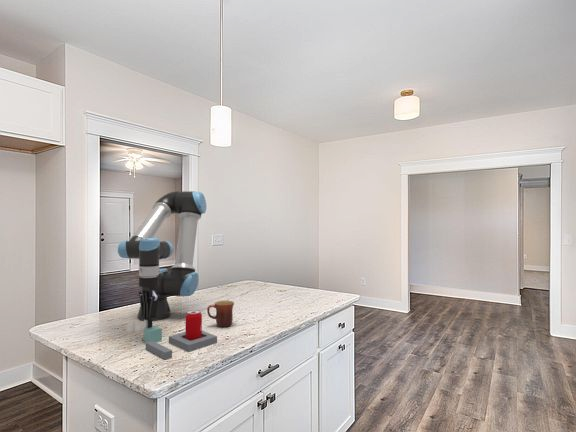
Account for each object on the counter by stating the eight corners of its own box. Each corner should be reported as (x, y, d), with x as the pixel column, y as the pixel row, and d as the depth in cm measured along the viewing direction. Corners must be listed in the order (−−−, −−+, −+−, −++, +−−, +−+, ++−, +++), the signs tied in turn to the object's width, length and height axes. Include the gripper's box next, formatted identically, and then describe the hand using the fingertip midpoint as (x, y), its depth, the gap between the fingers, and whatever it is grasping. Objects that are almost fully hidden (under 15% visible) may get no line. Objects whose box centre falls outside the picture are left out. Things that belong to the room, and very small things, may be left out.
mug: (232, 321, 159) (233, 300, 160) (235, 327, 151) (235, 304, 151) (206, 323, 156) (206, 301, 156) (207, 329, 148) (207, 306, 148)
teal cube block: (143, 341, 134) (143, 328, 134) (155, 337, 137) (155, 325, 137) (149, 344, 130) (149, 331, 130) (161, 340, 134) (161, 328, 134)
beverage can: (203, 339, 136) (203, 309, 136) (199, 345, 130) (200, 313, 130) (187, 339, 136) (187, 309, 136) (183, 345, 130) (183, 313, 130)
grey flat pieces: (145, 349, 125) (145, 342, 125) (196, 334, 142) (196, 328, 142) (164, 359, 116) (164, 352, 116) (217, 342, 133) (217, 336, 133)
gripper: (132, 275, 138) (131, 333, 137) (147, 279, 129) (146, 341, 129) (150, 273, 143) (149, 329, 143) (165, 277, 135) (165, 336, 134)
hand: (148, 335), depth 136 cm, fingers closed
